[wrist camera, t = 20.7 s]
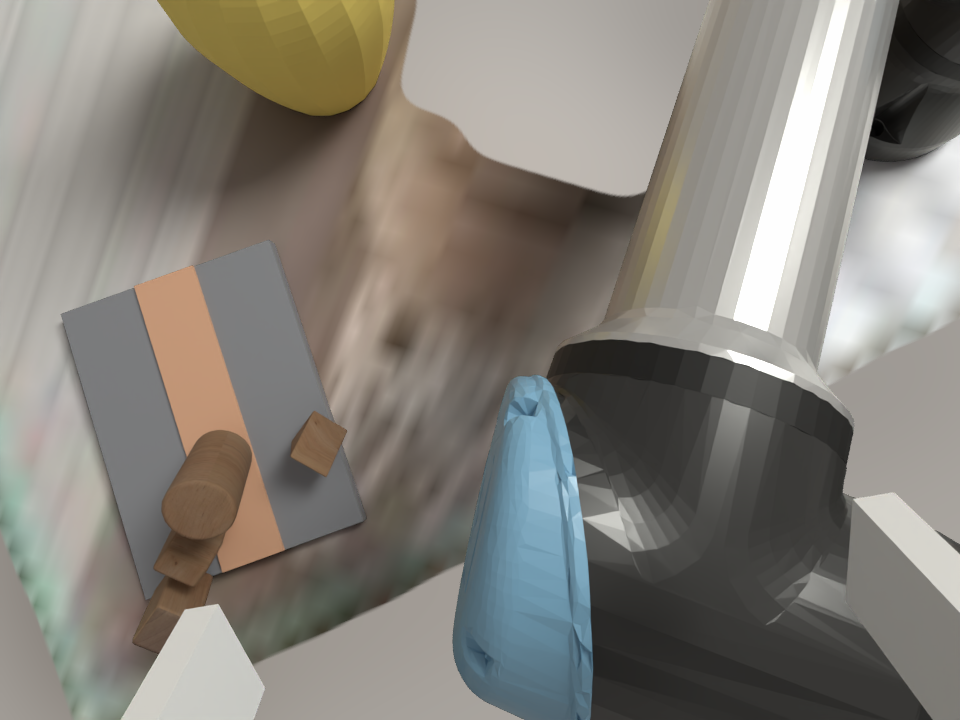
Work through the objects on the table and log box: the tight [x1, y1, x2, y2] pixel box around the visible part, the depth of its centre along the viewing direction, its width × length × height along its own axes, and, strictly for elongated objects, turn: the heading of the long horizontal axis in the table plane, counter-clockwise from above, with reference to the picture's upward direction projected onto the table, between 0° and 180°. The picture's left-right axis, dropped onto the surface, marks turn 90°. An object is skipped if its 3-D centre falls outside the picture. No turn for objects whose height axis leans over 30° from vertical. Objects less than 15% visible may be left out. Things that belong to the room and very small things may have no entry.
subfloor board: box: [61, 240, 366, 600], centre depth 45 cm, size 18×24×2 cm
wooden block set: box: [133, 411, 347, 654], centre depth 40 cm, size 18×9×10 cm, turn 144°
